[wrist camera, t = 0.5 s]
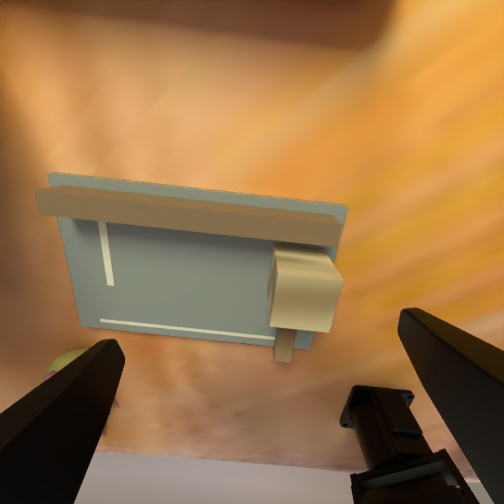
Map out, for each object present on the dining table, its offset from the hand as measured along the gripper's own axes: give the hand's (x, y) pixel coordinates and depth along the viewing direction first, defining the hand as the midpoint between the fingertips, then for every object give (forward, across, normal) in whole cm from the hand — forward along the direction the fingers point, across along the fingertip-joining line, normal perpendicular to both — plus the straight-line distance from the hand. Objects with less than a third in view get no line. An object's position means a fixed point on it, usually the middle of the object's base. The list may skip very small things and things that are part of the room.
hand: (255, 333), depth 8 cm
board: (+13, +5, +4) cm, 14 cm away
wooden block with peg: (+11, -2, +8) cm, 14 cm away
